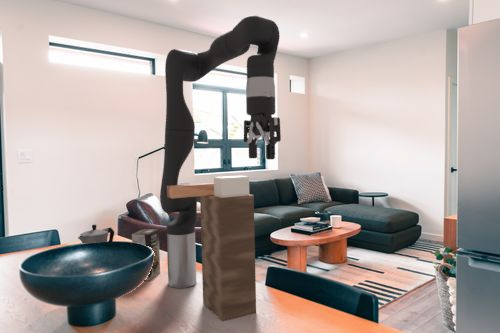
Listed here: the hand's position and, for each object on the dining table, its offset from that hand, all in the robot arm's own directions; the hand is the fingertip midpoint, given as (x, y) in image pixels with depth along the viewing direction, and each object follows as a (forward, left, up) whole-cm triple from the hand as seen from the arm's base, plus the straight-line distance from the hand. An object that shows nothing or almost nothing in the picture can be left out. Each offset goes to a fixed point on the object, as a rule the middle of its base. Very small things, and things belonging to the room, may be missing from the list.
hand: (261, 158), depth 105 cm
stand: (-9, -6, -42) cm, 43 cm away
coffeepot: (-63, -32, -42) cm, 83 cm away
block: (-5, -6, -10) cm, 13 cm away
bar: (-12, -11, -10) cm, 19 cm away
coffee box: (-49, -18, -42) cm, 67 cm away
